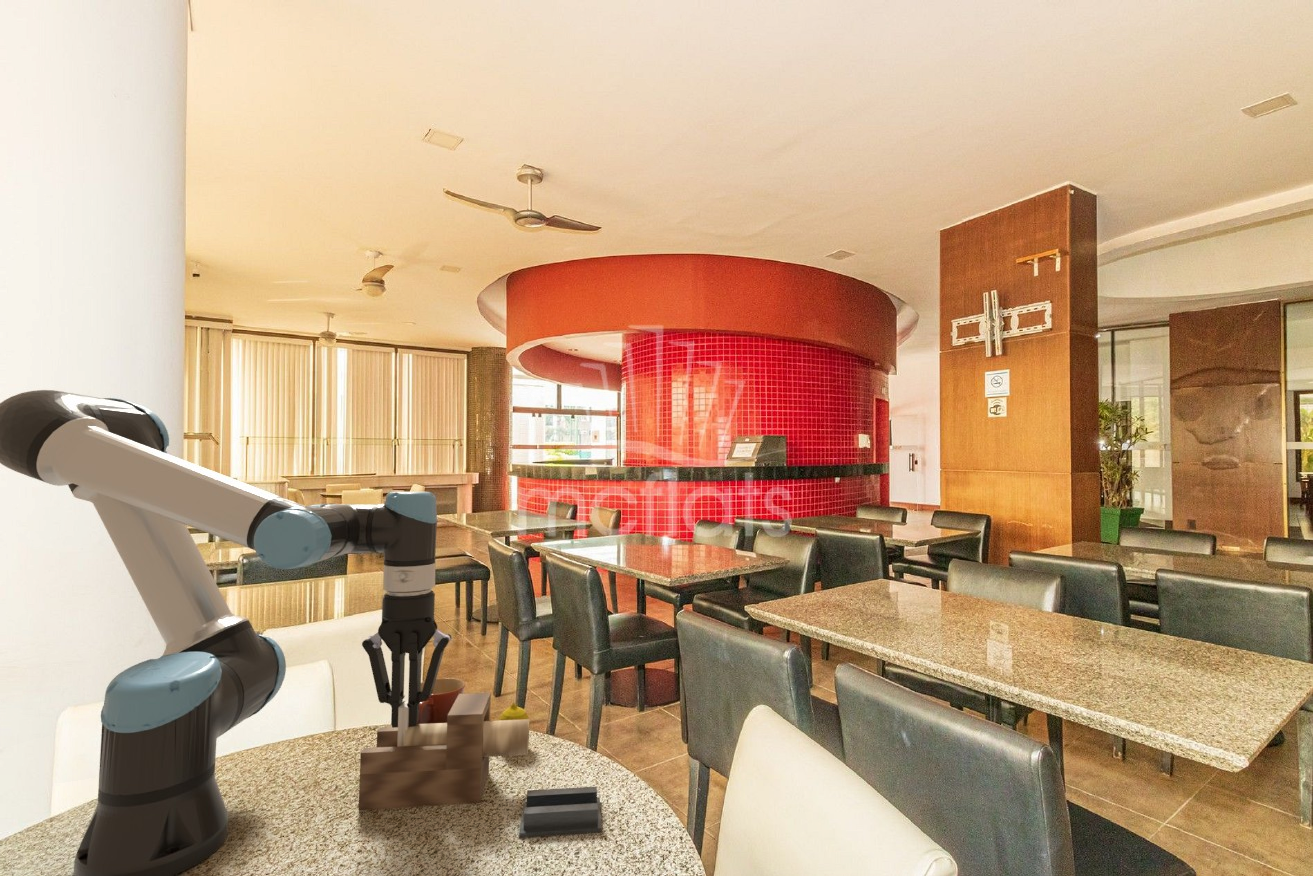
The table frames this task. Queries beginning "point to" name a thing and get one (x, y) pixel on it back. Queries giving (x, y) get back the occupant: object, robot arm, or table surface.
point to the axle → (496, 736)
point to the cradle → (561, 812)
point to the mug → (440, 700)
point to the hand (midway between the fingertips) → (404, 747)
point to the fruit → (514, 714)
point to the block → (429, 763)
